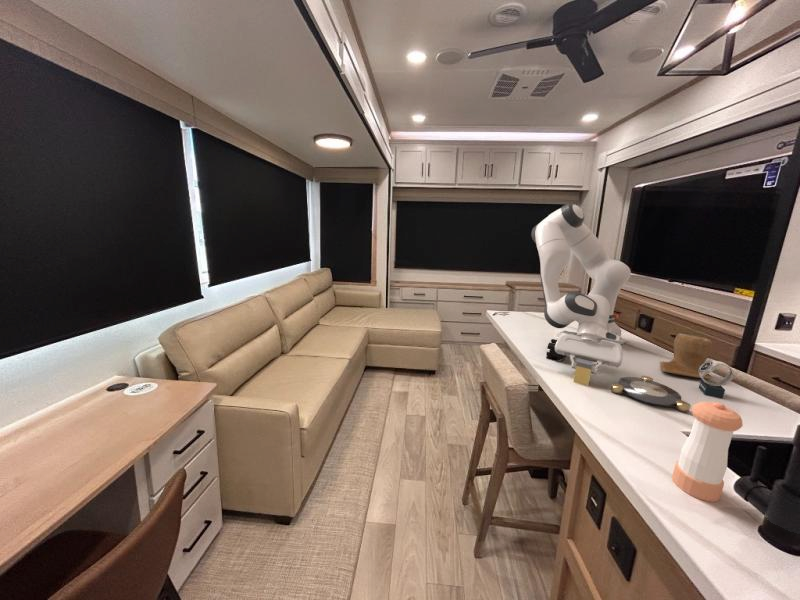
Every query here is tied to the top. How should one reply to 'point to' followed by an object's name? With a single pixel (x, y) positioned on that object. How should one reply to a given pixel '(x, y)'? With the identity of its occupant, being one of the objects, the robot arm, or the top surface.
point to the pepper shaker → (706, 451)
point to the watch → (713, 387)
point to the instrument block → (583, 371)
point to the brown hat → (688, 356)
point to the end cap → (553, 352)
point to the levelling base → (650, 392)
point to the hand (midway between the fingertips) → (583, 370)
